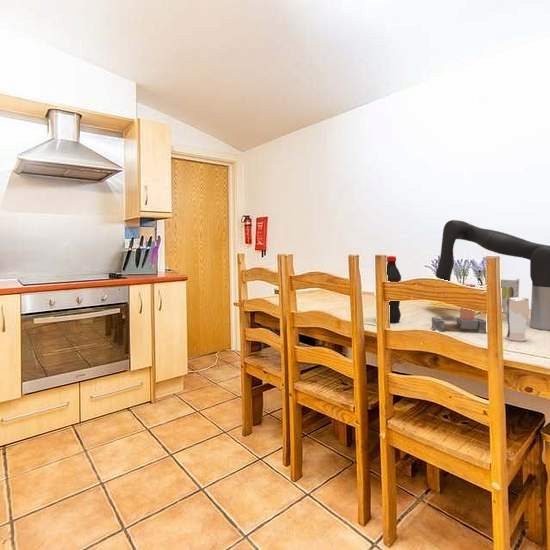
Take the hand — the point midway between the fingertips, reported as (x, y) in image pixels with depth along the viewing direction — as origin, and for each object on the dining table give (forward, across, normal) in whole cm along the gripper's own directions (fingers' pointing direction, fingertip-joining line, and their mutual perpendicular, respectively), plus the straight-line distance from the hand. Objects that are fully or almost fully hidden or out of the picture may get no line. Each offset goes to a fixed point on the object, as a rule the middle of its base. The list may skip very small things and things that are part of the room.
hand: (459, 299), depth 153 cm
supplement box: (-32, +31, +11) cm, 46 cm away
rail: (+10, -3, +11) cm, 15 cm away
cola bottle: (-4, -28, +11) cm, 30 cm away
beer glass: (+21, +13, +11) cm, 27 cm away
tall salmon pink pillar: (+10, 0, +10) cm, 14 cm away
